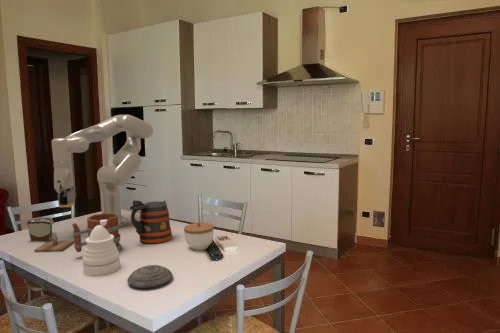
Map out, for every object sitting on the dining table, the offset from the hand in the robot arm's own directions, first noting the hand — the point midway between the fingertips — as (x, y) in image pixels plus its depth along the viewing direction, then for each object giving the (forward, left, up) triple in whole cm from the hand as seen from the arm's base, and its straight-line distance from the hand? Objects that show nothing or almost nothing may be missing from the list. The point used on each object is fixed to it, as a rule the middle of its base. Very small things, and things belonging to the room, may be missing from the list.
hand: (66, 202), depth 179 cm
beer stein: (-41, +7, -17) cm, 45 cm away
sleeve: (0, 0, -2) cm, 2 cm away
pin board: (0, +13, -17) cm, 21 cm away
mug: (-22, +21, -17) cm, 35 cm away
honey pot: (-30, +39, -17) cm, 52 cm away
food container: (+11, +2, -17) cm, 20 cm away
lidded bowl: (-64, +18, -17) cm, 69 cm away
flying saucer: (-51, +51, -17) cm, 74 cm away
